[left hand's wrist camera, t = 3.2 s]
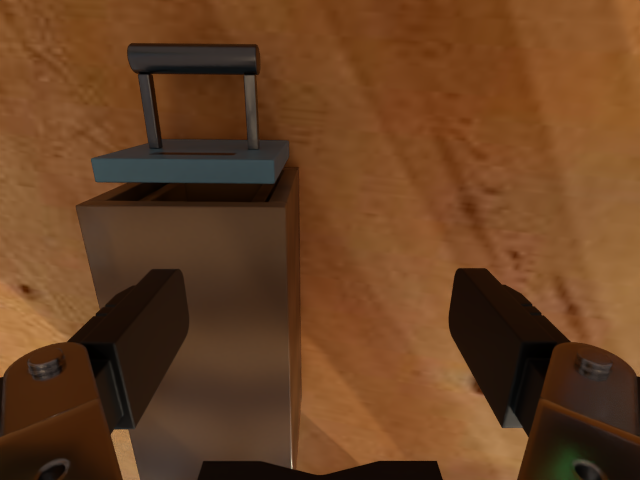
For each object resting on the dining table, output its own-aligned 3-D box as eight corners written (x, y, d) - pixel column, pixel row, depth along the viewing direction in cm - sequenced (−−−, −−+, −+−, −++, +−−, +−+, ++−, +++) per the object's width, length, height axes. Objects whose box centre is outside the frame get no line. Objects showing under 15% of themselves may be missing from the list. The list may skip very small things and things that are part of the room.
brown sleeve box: (163, 166, 28) (74, 205, 18) (298, 167, 28) (285, 207, 18) (195, 395, 36) (147, 511, 26) (301, 396, 36) (293, 512, 26)
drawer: (150, 53, 24) (62, 31, 16) (287, 54, 24) (269, 32, 16) (195, 374, 34) (154, 463, 25) (293, 374, 34) (284, 464, 25)
